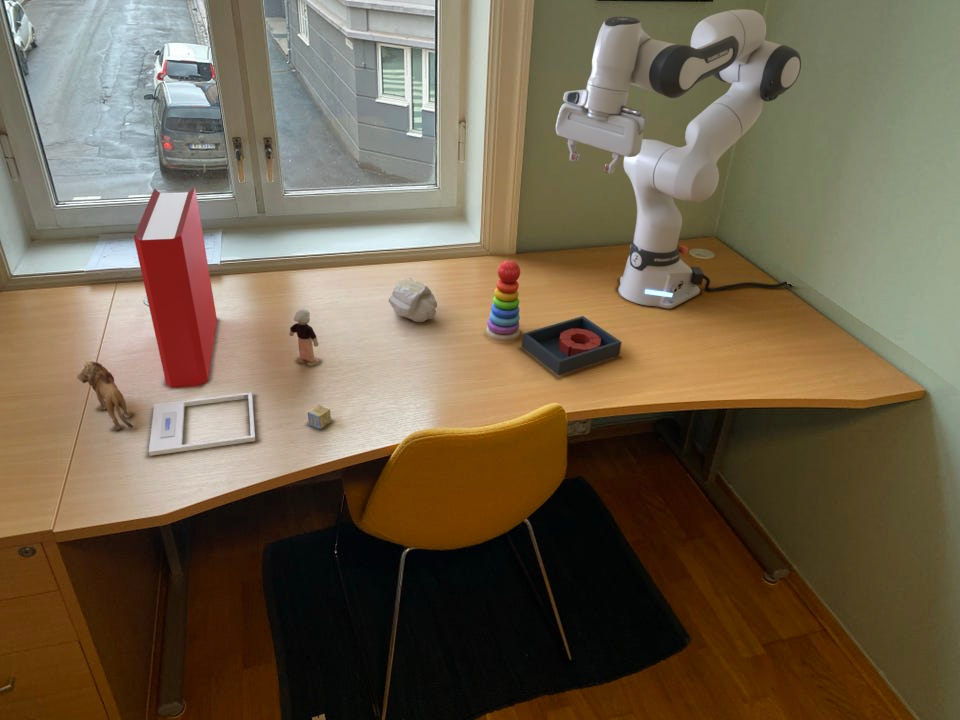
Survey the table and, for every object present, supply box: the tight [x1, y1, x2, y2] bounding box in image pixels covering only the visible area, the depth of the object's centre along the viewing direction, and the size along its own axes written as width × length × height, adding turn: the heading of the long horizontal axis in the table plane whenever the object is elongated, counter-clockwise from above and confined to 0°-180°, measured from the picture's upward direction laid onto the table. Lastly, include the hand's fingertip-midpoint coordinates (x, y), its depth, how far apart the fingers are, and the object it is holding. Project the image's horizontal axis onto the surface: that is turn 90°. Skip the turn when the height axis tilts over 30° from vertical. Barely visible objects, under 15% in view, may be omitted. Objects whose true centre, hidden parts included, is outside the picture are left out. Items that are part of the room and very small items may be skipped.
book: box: [133, 187, 218, 389], centre depth 149 cm, size 27×8×32 cm, turn 13°
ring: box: [558, 328, 601, 356], centre depth 166 cm, size 9×9×2 cm
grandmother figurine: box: [288, 307, 320, 367], centre depth 154 cm, size 8×4×13 cm, turn 71°
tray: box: [521, 315, 623, 376], centre depth 164 cm, size 18×14×4 cm
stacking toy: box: [485, 260, 521, 342], centre depth 166 cm, size 8×8×19 cm
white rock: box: [388, 277, 438, 323], centre depth 174 cm, size 12×8×10 cm
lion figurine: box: [76, 360, 134, 431], centre depth 136 cm, size 15×5×9 cm, turn 50°
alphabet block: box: [307, 404, 332, 430], centre depth 138 cm, size 3×3×3 cm
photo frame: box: [148, 391, 256, 457], centre depth 137 cm, size 15×1×18 cm
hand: (590, 167), depth 159 cm, fingers open, 8 cm apart
